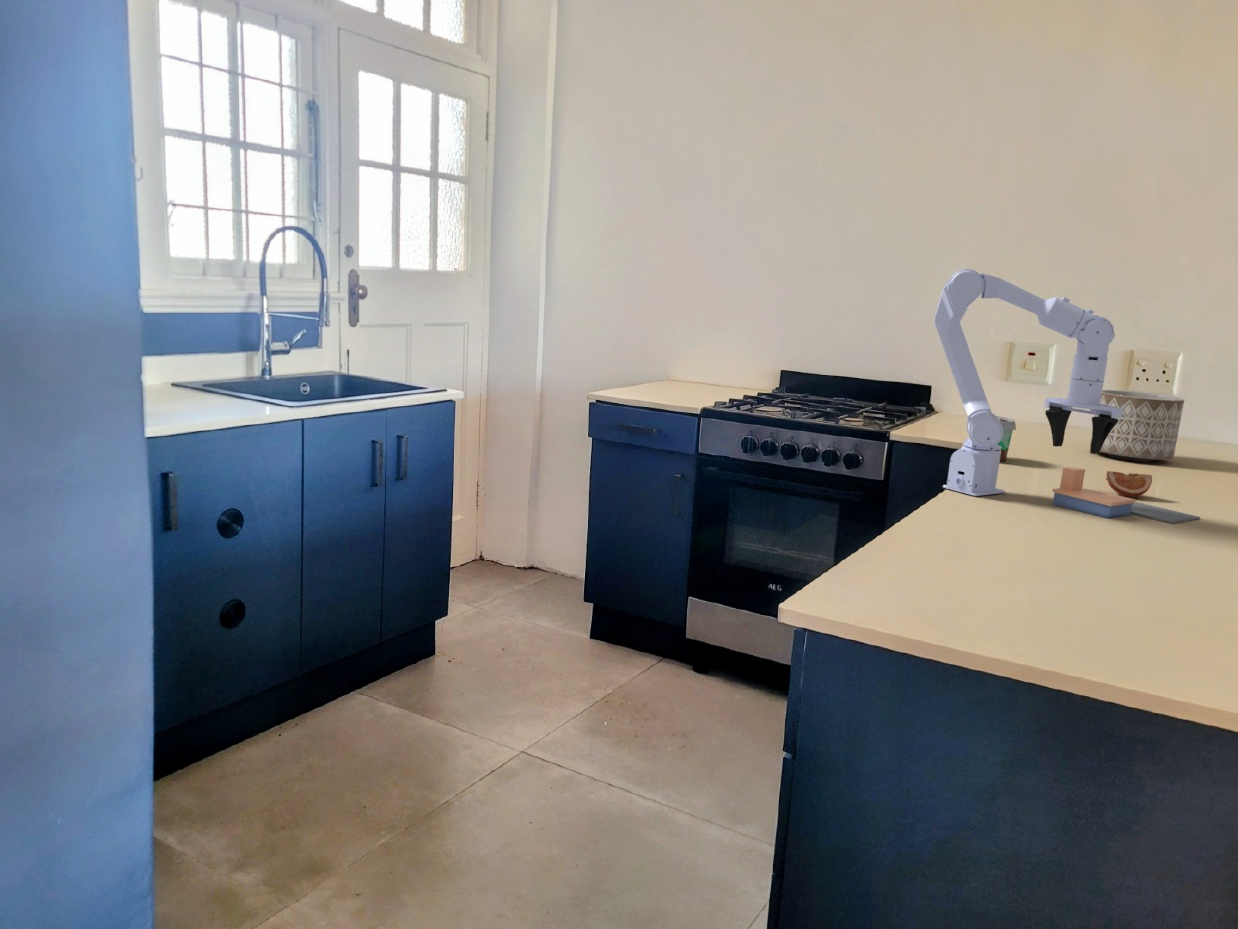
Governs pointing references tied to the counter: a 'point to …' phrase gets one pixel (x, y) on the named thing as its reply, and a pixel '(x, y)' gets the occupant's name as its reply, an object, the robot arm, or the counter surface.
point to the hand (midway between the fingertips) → (1075, 449)
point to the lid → (1086, 489)
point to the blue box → (1092, 506)
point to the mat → (1161, 513)
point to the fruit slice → (1129, 483)
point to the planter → (1142, 425)
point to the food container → (1006, 435)
